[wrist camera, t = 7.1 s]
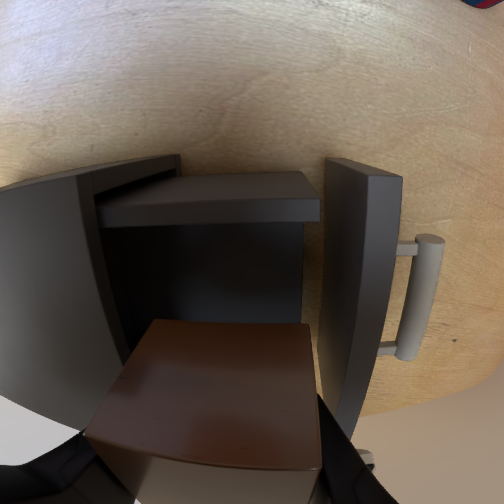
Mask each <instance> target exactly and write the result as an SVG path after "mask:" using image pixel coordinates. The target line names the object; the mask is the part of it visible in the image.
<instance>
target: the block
mask: <svg viewBox="0 0 504 504" xmlns="http://www.w3.org/2000/svg"><path fill="white" fill-rule="evenodd" d="M84 437H85V438H86V439H87V441H88V442H89V443H90V445H91V446H92V447H93V449H94V450H95V451H96V453H97V454H98V455H99V457H100V458H101V459H102V460H103V462H104V463H105V464H106V465H107V466H108V468H109V469H110V470H111V471H112V472H113V474H114V475H115V476H116V477H117V478H118V479H119V481H120V482H121V483H122V484H123V485H124V486H125V487H126V488H127V489H128V490H129V492H130V493H131V494H132V495H133V496H134V497H135V498H136V499H137V500H138V501H139V502H140V503H141V504H310V501H311V498H312V496H313V493H314V490H315V487H316V484H317V481H318V478H319V475H320V472H321V469H322V454H321V439H320V425H319V413H318V401H317V391H316V380H315V370H314V361H313V352H312V343H311V334H310V326H309V324H308V323H227V322H202V321H183V320H167V319H154V320H153V322H152V323H151V325H150V326H149V328H148V329H147V331H146V332H145V334H144V336H143V337H142V339H141V340H140V342H139V343H138V345H137V346H136V348H135V350H134V351H133V353H132V354H131V356H130V357H129V359H128V361H127V362H126V364H125V365H124V367H123V369H122V370H121V372H120V373H119V375H118V377H117V378H116V380H115V381H114V383H113V385H112V386H111V388H110V390H109V391H108V393H107V394H106V396H105V398H104V399H103V401H102V403H101V404H100V406H99V408H98V409H97V411H96V413H95V415H94V416H93V418H92V420H91V421H90V423H89V425H88V426H87V428H86V430H85V432H84Z"/></svg>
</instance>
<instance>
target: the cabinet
mask: <svg viewBox="0 0 504 504" xmlns="http://www.w3.org/2000/svg"><path fill="white" fill-rule="evenodd" d="M169 177H181V168H180V155H179V154H168V155H160V156H151V157H144V158H136V159H129V160H123V161H116V162H110V163H104V164H99V165H93V166H88V167H82V168H77V169H72V170H67V171H63V172H58V173H54V174H49V175H45V176H41V177H37V178H32V179H29V180H25V181H21V182H17V183H13V184H10V185H7V186H4V187H1V188H0V395H1V396H3V397H5V398H7V399H9V400H11V401H13V402H15V403H17V404H19V405H21V406H23V407H25V408H27V409H29V410H31V411H33V412H35V413H37V414H40V415H42V416H44V417H46V418H49V419H51V420H53V421H56V422H58V423H61V424H64V425H66V426H69V427H71V428H74V429H77V430H79V431H82V430H83V429H85V428H86V427H87V426H88V425H89V423H90V421H91V420H92V418H93V416H94V415H95V413H96V411H97V409H98V408H99V406H100V404H101V403H102V401H103V399H104V398H105V396H106V394H107V393H108V391H109V390H110V388H111V386H112V385H113V383H114V381H115V380H116V378H117V377H118V375H119V373H120V372H121V370H122V369H123V367H124V365H125V364H126V362H127V361H128V359H129V357H130V356H131V353H130V350H129V347H128V344H127V341H126V338H125V334H124V331H123V328H122V325H121V321H120V318H119V314H118V311H117V307H116V304H115V300H114V296H113V292H112V288H111V284H110V280H109V276H108V272H107V268H106V263H105V259H104V254H103V249H102V244H101V239H100V234H99V228H98V222H97V216H96V210H95V204H94V197H93V196H94V195H97V194H99V193H102V192H105V191H108V190H110V189H113V188H116V187H119V186H122V185H125V184H127V183H130V182H133V181H138V180H148V179H158V178H169Z"/></svg>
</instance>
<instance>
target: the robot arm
mask: <svg viewBox="0 0 504 504" xmlns="http://www.w3.org/2000/svg"><path fill="white" fill-rule="evenodd" d="M317 401H318V413H319V425H320V439H321V454H322V469H321V472H320V475H319V478H318V481H317V484H316V487H315V490H314V493H313V496H312V498H311V501H310V504H399V503H397V501H396V500H395V499H394V498H393V497H392V496H391V495H390V494H389V493H388V492H387V491H386V489H384V487H383V486H382V485H381V484H380V483H379V481H378V480H377V479H376V477H375V476H374V475H373V473H372V471H373V469H374V467H375V465H374V464H373V463H372V464H366V463H365V462H364V461H363V459H362V458H361V456H360V455H359V453H358V452H357V450H356V449H355V448H354V446H353V444H352V443H351V442H350V440H349V439H348V437H347V436H346V434H345V433H344V431H343V430H342V428H341V427H340V425H339V424H338V422H337V421H336V419H335V418H334V416H333V415H332V413H331V412H330V410H329V409H328V407H327V406H326V404H325V403H324V401H323V400H322V398H321V397H320V395H319V394H317ZM86 428H87V427H86ZM86 428H85V429H83V430H82V431H80V432H79V434H76V435H75V436H73V437H72V438H70V439H69V440H67V441H66V442H64V443H63V444H61V445H60V446H58V447H57V448H55V449H53V450H51V451H49V452H47V453H45V454H43V455H42V456H40V457H38V458H36V459H34V460H32V461H30V462H28V463H25V464H22V465H16V466H10V465H0V504H134V502H135V499H136V498H135V497H134V496H133V495H132V494H131V493H130V492H129V490H128V489H127V488H126V487H125V486H124V485H123V484H122V483H121V482H120V481H119V479H118V478H117V477H116V476H115V475H114V474H113V472H112V471H111V470H110V469H109V468H108V466H107V465H106V464H105V463H104V462H103V460H102V459H101V458H100V457H99V455H98V454H97V453H96V451H95V450H94V449H93V447H92V446H91V445H90V443H89V442H88V441H87V439H86V438H85V437H84V432H85V430H86Z"/></svg>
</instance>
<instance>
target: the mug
mask: <svg viewBox="0 0 504 504" xmlns="http://www.w3.org/2000/svg"><path fill="white" fill-rule="evenodd" d="M463 1H465V2H466V3H468V4H470V5H472V6H475V7H477V8H482V9H486V8H489V7H491V6H494V5H496V4H498V3H500V2H502V1H504V0H463Z"/></svg>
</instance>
